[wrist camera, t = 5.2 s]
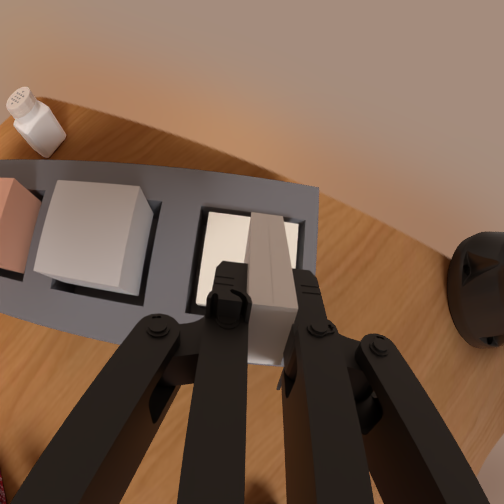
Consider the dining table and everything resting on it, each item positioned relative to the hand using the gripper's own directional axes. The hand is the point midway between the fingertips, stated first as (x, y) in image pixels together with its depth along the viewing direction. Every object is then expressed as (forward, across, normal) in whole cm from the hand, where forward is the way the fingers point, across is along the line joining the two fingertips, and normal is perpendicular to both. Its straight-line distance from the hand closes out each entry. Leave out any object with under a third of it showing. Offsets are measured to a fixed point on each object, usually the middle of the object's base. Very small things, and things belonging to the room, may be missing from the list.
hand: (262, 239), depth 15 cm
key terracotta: (+6, -22, -6) cm, 24 cm away
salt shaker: (+20, -26, -1) cm, 33 cm away
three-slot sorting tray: (+11, -11, -10) cm, 19 cm away
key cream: (+8, 0, -8) cm, 12 cm away
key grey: (+6, -11, -6) cm, 14 cm away
